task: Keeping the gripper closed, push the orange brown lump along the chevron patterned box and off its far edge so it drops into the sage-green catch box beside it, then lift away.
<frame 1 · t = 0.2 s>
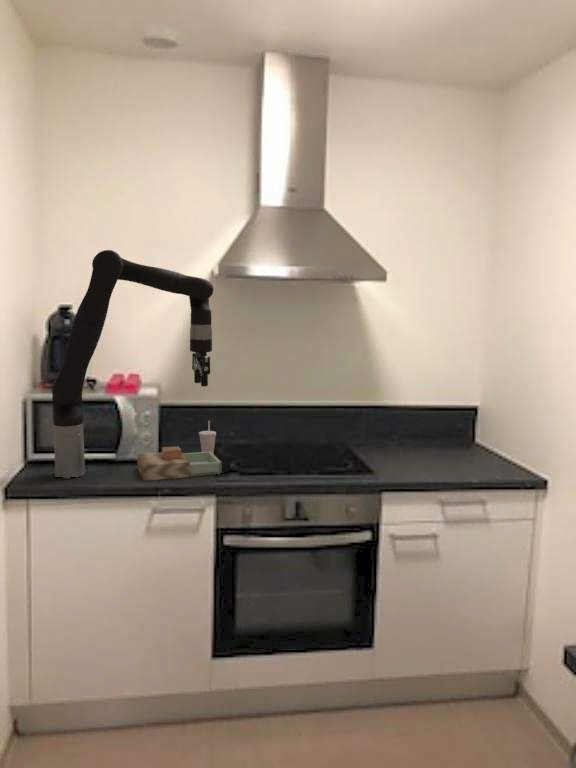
hand: (200, 384, 224), 29 cm above the worktop, tool pointing down, fingers open, 8 cm apart
catch box: (201, 469, 222), on the worktop
orange brown lump: (171, 457, 218), point 5 cm above the worktop, touching chevron patterned box
smoothie: (207, 458, 237), on the worktop
chevron patterned box: (163, 472, 218), on the worktop
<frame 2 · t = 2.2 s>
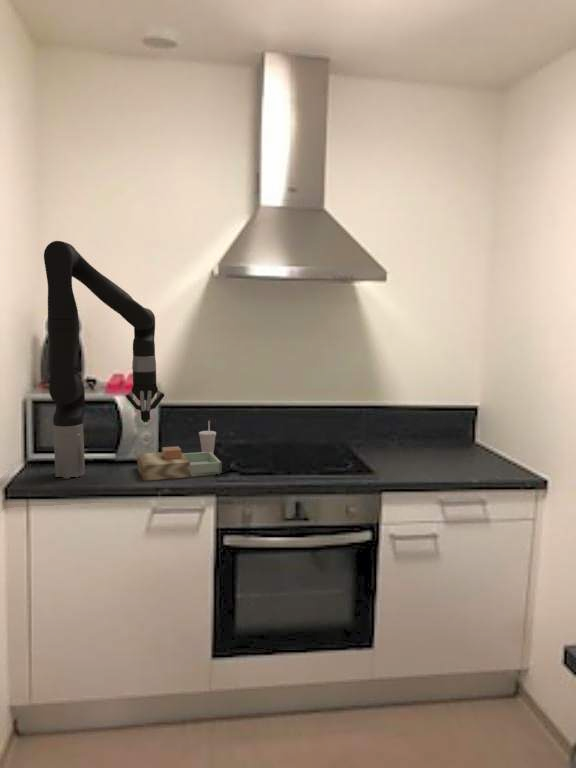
hand: (145, 421, 213), 18 cm above the worktop, tool pointing down, fingers closed
nothing on the worktop moved.
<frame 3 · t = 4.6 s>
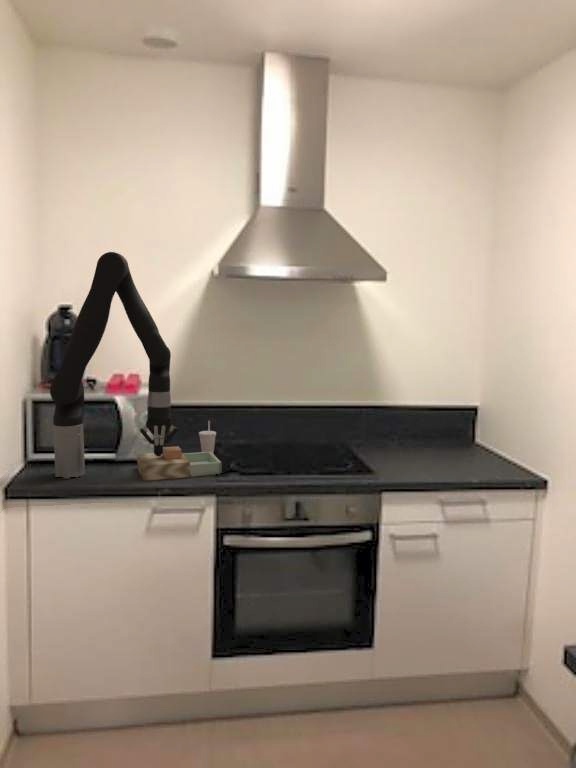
hand: (158, 455, 216), 6 cm above the worktop, tool pointing down, fingers closed
orange brown lump: (172, 457, 218), point 5 cm above the worktop, touching chevron patterned box, gripper
everything else where it was.
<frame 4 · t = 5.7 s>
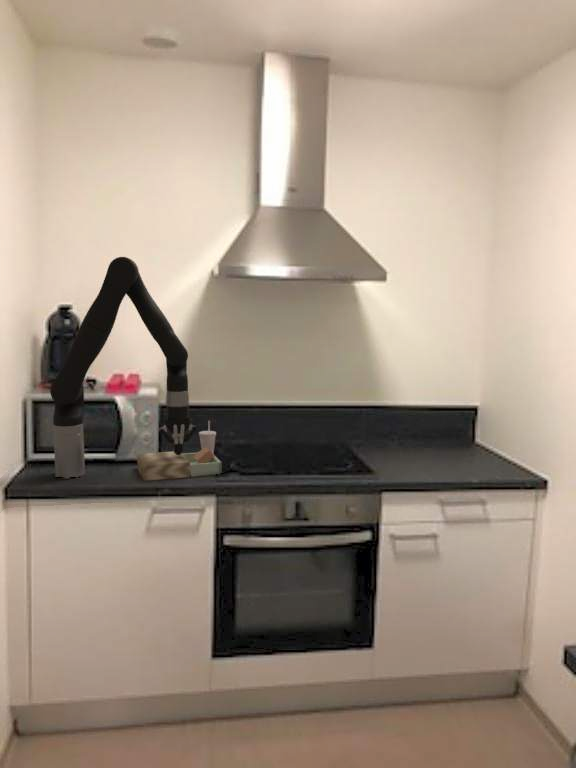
hand: (178, 454, 218), 6 cm above the worktop, tool pointing down, fingers closed
orange brown lump: (201, 453, 223), point 5 cm above the worktop, tilted 143°, touching catch box
everything else where it was.
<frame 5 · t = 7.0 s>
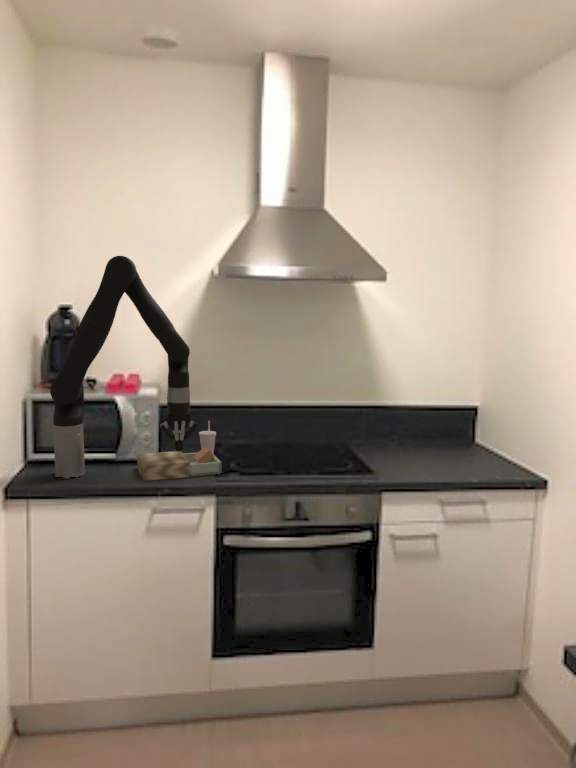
hand: (178, 450, 218), 7 cm above the worktop, tool pointing down, fingers closed
nothing on the worktop moved.
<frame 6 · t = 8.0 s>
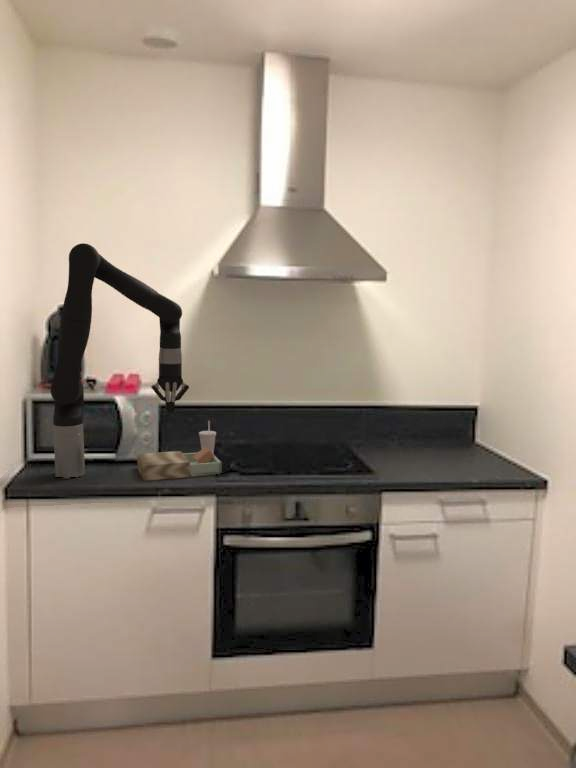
hand: (170, 412, 218), 20 cm above the worktop, tool pointing down, fingers closed
nothing on the worktop moved.
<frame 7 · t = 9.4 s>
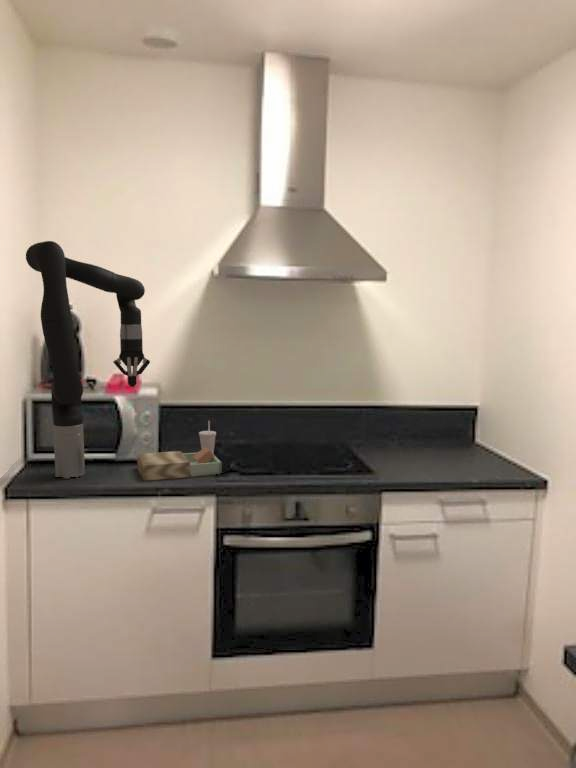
hand: (132, 386, 228), 27 cm above the worktop, tool pointing down, fingers closed
nothing on the worktop moved.
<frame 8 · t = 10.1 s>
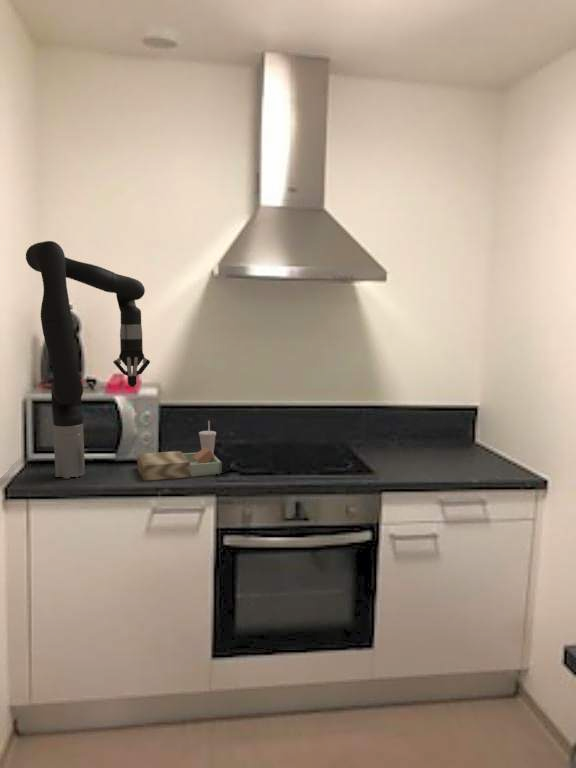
hand: (132, 386, 228), 27 cm above the worktop, tool pointing down, fingers closed
nothing on the worktop moved.
at the end: orange brown lump inside the target area on the catch box (2.3 cm from its centre), point 5.1 cm above the catch box's base; orange brown lump touching catch box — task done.
